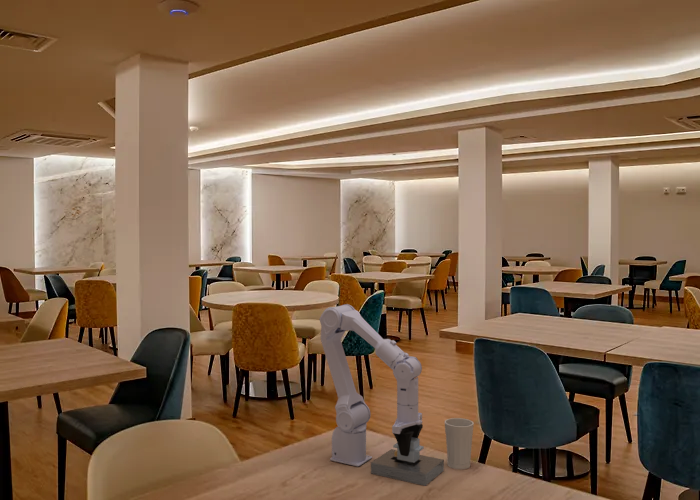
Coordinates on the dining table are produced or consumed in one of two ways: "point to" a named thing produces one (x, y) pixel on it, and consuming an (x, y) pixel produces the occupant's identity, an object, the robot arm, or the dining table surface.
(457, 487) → the dining table surface
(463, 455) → the cup
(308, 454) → the dining table surface
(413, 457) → the block
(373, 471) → the chassis
